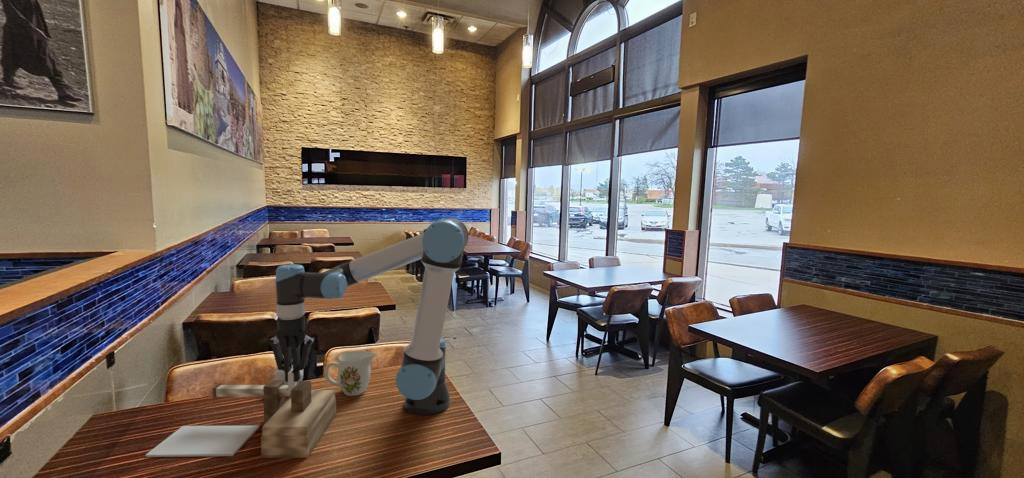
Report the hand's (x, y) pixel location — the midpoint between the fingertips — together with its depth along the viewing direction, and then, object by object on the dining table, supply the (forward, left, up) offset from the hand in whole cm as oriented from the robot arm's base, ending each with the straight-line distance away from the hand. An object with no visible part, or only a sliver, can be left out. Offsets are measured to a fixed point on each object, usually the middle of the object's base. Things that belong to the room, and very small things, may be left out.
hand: (292, 391), depth 130 cm
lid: (-5, +7, -4) cm, 10 cm away
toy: (+13, -23, -10) cm, 28 cm away
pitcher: (-11, -20, -10) cm, 25 cm away
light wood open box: (-2, +7, -10) cm, 12 cm away
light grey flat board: (+20, +10, -10) cm, 24 cm away
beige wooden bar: (+12, 0, -1) cm, 12 cm away
